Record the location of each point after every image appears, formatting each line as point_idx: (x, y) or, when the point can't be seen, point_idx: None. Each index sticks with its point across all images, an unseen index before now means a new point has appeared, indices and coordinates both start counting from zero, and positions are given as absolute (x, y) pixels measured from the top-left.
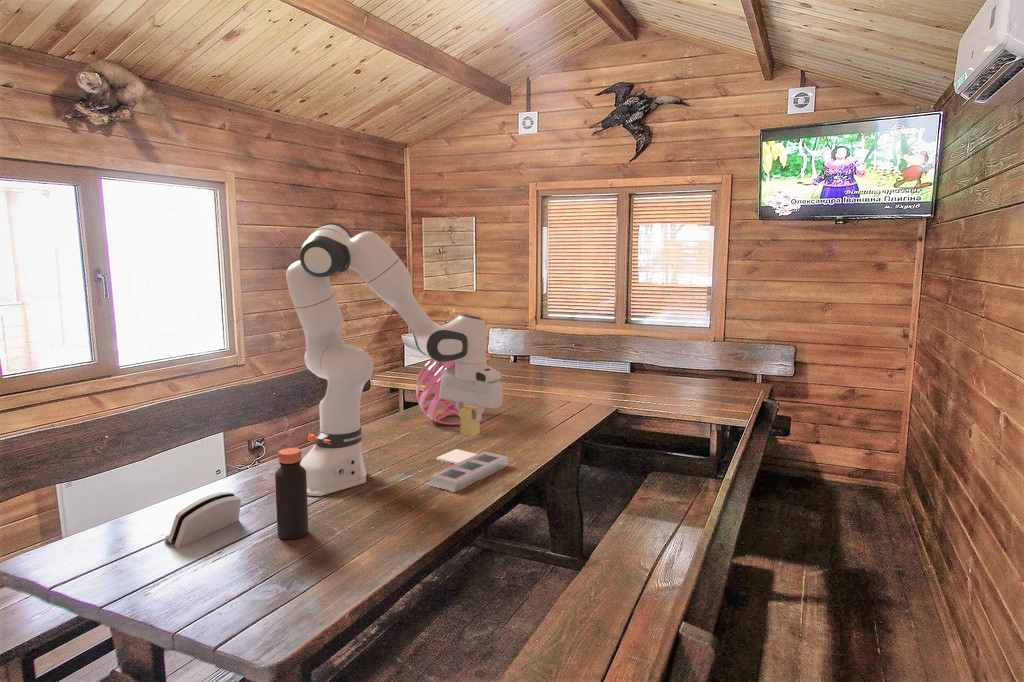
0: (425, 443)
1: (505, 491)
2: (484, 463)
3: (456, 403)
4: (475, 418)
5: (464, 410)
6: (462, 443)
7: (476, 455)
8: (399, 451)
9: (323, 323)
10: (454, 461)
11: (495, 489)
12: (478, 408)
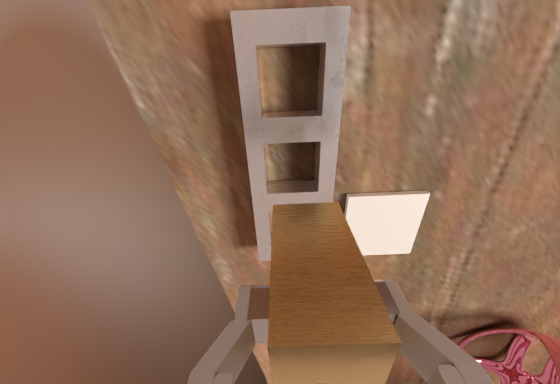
0: (497, 249)
1: (148, 128)
2: (273, 203)
3: (479, 381)
4: (257, 291)
5: (347, 322)
6: (416, 284)
7: None
8: (548, 181)
9: None
10: (372, 197)
11: (176, 123)
12: (213, 380)
